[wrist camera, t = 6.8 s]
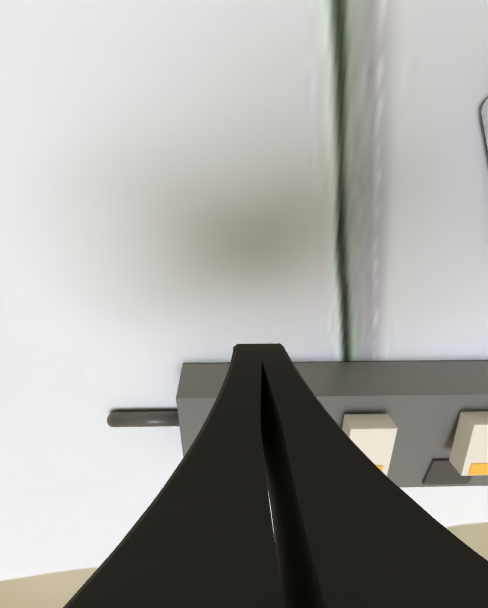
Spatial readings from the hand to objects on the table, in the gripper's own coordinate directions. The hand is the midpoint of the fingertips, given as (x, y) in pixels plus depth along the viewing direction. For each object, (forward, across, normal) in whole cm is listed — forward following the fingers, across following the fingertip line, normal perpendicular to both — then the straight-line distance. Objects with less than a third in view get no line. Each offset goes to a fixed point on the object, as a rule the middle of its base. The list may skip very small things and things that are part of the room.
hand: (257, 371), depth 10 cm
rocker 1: (+6, -7, +11) cm, 14 cm away
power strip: (+9, -4, +12) cm, 16 cm away
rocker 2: (+6, -14, +11) cm, 18 cm away
